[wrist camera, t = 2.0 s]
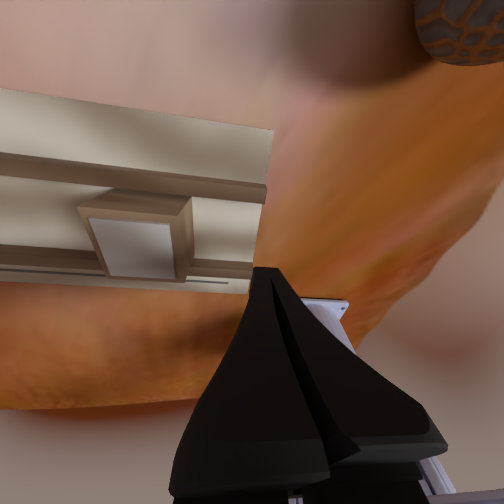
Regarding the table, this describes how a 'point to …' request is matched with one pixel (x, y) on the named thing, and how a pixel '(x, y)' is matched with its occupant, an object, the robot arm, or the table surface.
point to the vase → (461, 30)
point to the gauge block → (141, 234)
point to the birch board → (124, 187)
